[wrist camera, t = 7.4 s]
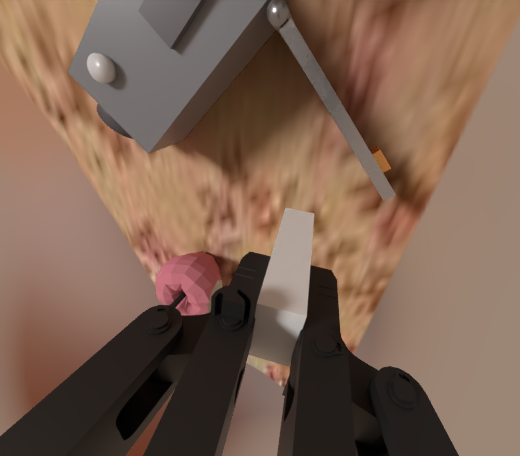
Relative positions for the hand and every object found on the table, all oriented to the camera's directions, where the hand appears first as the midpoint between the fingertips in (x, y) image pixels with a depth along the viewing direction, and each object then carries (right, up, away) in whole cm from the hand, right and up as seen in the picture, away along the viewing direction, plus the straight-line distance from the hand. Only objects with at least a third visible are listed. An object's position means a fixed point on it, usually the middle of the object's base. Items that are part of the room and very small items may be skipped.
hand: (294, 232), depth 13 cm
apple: (-10, -5, +25) cm, 28 cm away
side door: (+6, +12, +11) cm, 17 cm away
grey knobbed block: (-9, +17, +12) cm, 23 cm away
